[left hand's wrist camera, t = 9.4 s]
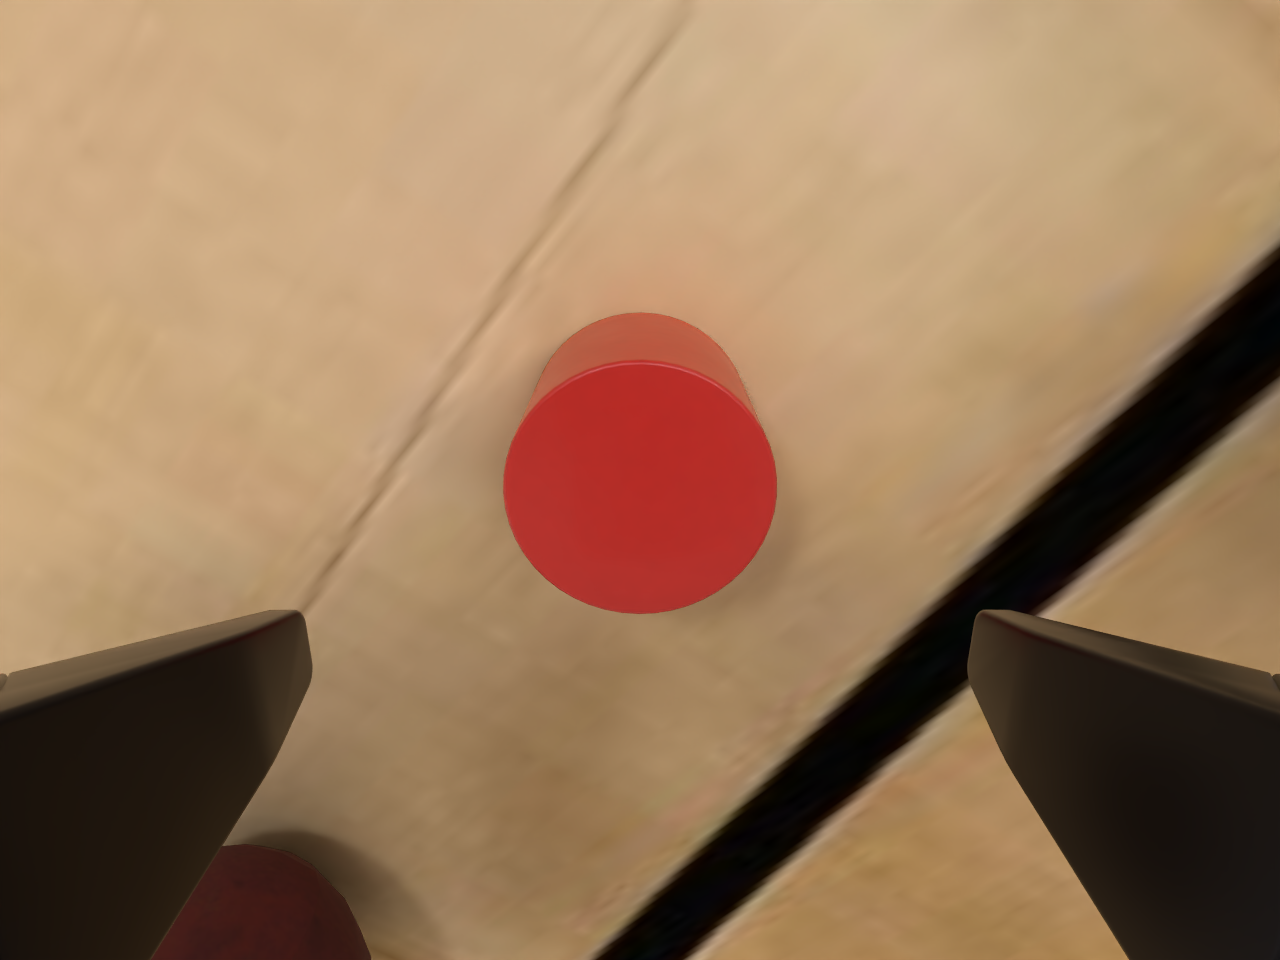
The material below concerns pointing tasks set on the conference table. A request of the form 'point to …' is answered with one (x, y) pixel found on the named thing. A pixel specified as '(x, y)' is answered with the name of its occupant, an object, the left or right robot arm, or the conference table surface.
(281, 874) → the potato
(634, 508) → the canister
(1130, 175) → the conference table surface
